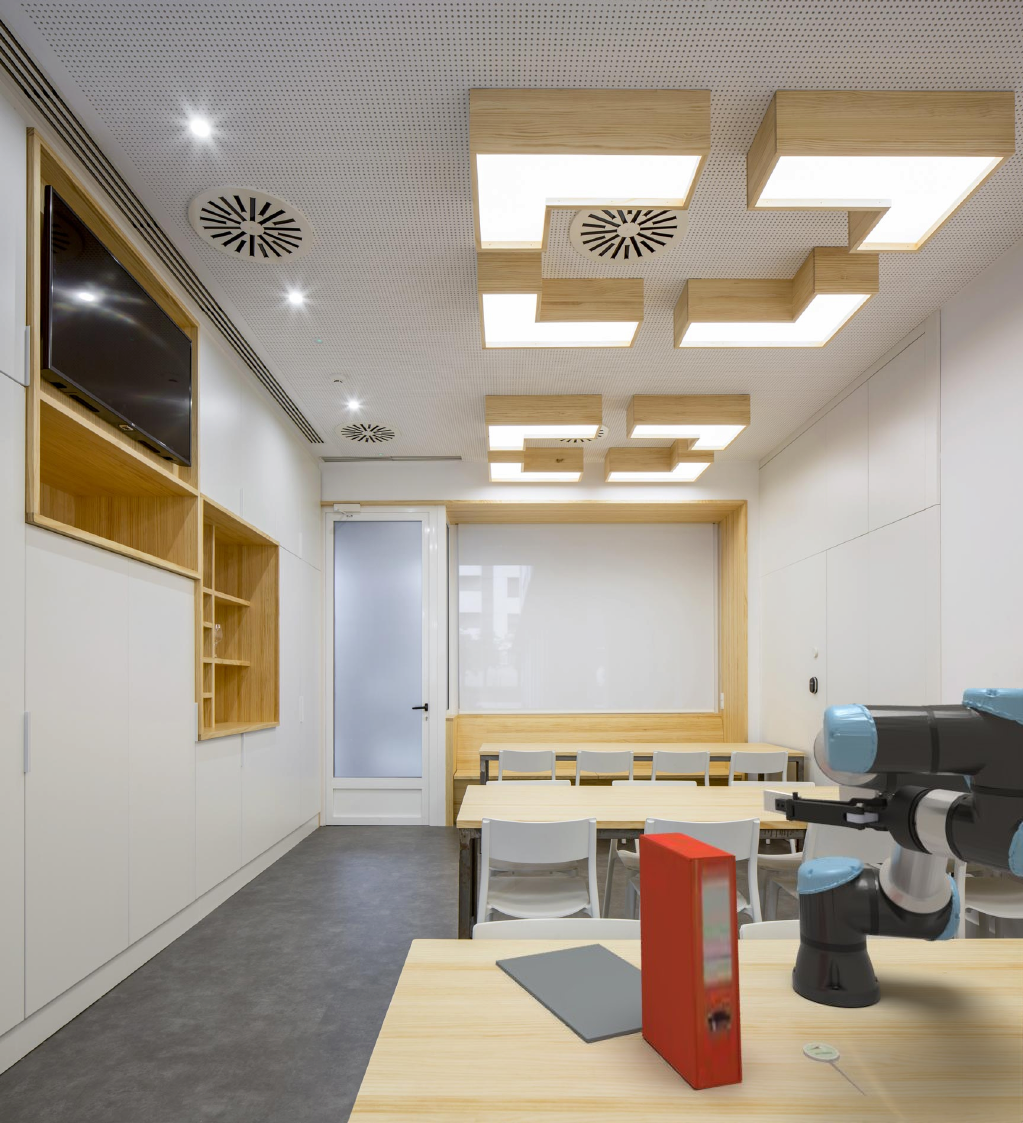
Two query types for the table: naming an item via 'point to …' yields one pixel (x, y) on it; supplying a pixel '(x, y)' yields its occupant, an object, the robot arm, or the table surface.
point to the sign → (824, 1055)
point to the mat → (583, 989)
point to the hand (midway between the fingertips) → (804, 797)
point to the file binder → (690, 957)
